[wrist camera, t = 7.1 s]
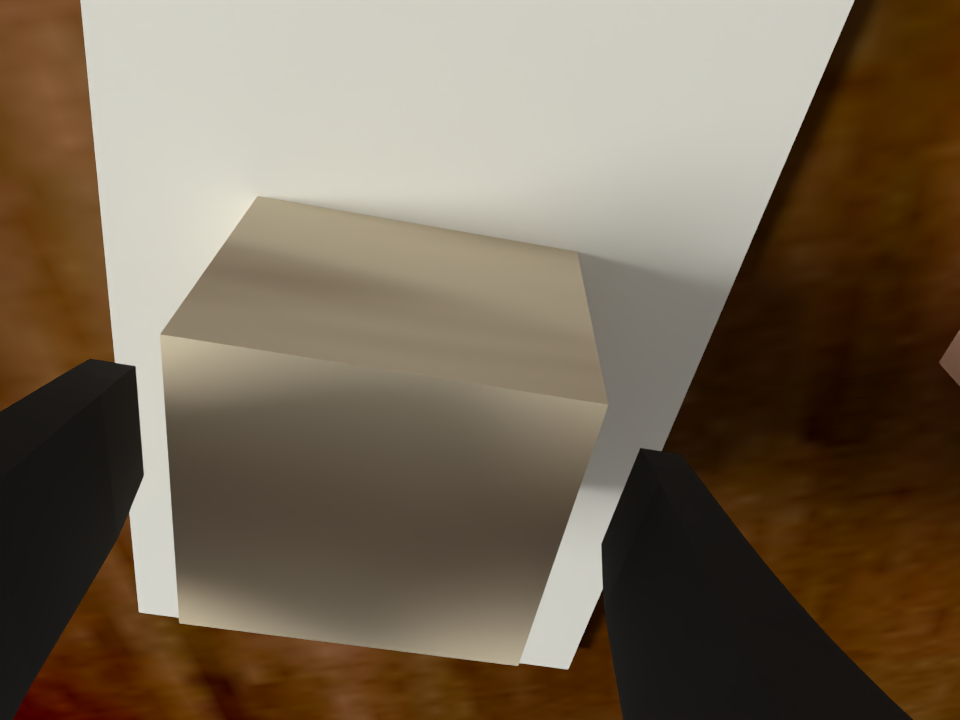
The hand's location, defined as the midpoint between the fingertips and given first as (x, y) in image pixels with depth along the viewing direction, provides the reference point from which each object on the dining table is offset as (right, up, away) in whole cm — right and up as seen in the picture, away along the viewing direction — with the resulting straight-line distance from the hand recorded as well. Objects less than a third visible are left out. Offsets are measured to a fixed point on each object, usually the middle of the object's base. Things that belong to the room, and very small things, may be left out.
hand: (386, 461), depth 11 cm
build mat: (0, +2, +3) cm, 3 cm away
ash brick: (0, +2, +2) cm, 3 cm away
